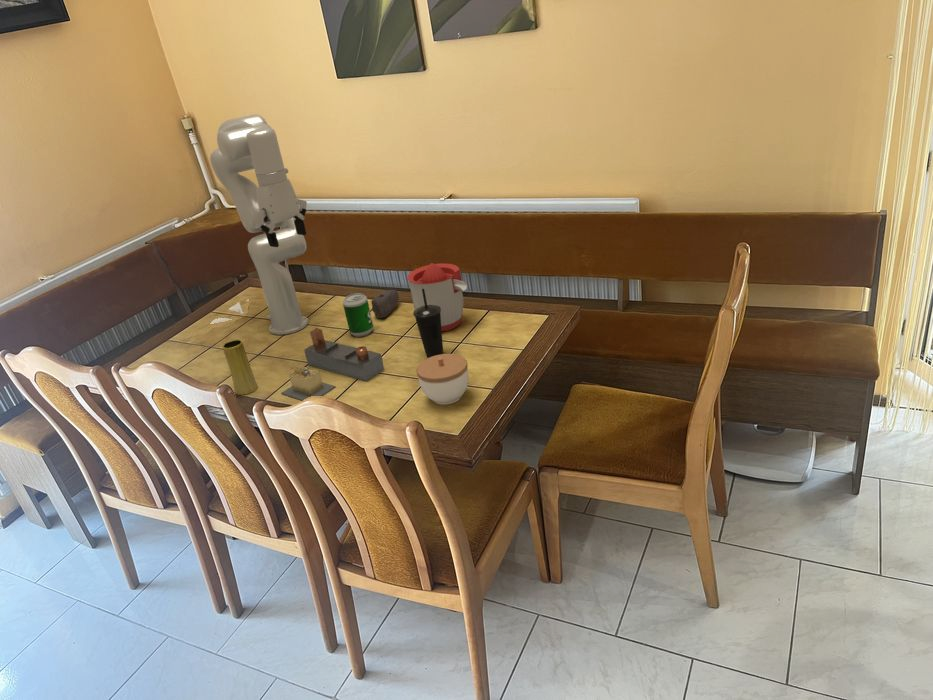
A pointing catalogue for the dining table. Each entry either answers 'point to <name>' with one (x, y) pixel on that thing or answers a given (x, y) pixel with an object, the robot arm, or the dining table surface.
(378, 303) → the perforated stone tool
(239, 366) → the vase
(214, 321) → the paper scraps
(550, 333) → the dining table surface
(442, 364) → the lidded bowl
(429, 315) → the drinking cup
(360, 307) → the soda can
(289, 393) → the mat
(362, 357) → the plane body
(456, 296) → the citrus juicer
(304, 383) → the lever cap
